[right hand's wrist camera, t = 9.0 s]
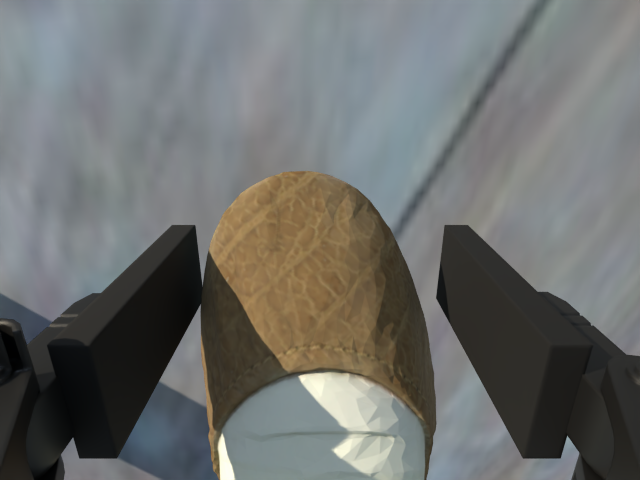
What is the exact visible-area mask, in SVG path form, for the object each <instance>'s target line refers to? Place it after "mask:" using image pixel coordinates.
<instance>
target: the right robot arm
mask: <svg viewBox="0 0 640 480" xmlns="http://www.w3.org/2000/svg"><path fill="white" fill-rule="evenodd" d="M202 288H203V287H202V279H201V270H200V262H199V253H198V245H197V236H196V227H195V225H172V226H171V227H170V228H169V229H168V230H167V231H166V232H165V233H163V234H162V235H161V236H160V237H159V238H158V239H157V240H156V241H155V242H154V243H153V244H152V245H151V246H150V247H149V248H148V249H147V250H146V251H145V252H144V253H143V254H142V255H140V256H139V257H138V258H137V259H136V260H135V261H134V262H133V263H132V264H131V265H130V266H129V267H128V268H127V269H126V270H125V271H124V272H123V273H122V274H121V275H120V276H119V277H117V278H116V279H115V280H114V281H113V282H112V283H111V284H110V285H109V286H108V287H107V288H106V289H105V290H104V291H103V292H102V293H92V294H91V295H89V296H87V297H85V298H83V299H81V300H79V301H77V302H75V303H74V304H72V305H71V306H70V307H69V308H68V309H67V310H66V311H65V312H63V313H62V314H61V317H58V318H57V319H56V320H54V321H53V322H52V323H51V324H50V327H47V328H46V329H44V330H43V331H42V332H41V333H40V334H39V335H38V336H37V337H35V338H34V339H33V340H32V341H31V342H30V343H29V344H28V345H27V344H26V341H25V338H24V334H23V331H22V328H21V325H20V323H18V322H17V321H15V320H13V319H3V318H0V480H64V474H65V470H64V463H63V460H62V457H61V453H62V452H63V451H64V449H65V448H66V446H67V445H68V443H69V442H70V441H71V439H72V438H74V441H75V445H76V448H77V452H78V455H79V458H117V457H118V455H119V454H120V452H121V450H122V448H123V446H124V444H125V443H126V441H127V439H128V437H129V435H130V433H131V431H132V430H133V428H134V426H135V424H136V422H137V420H138V419H139V417H140V415H141V413H142V411H143V409H144V408H145V406H146V404H147V402H148V400H149V398H150V396H151V395H152V393H153V391H154V389H155V387H156V385H157V384H158V382H159V380H160V378H161V376H162V374H163V372H164V371H165V369H166V367H167V365H168V363H169V361H170V360H171V358H172V356H173V354H174V352H175V350H176V348H177V347H178V345H179V343H180V341H181V339H182V337H183V336H184V334H185V332H186V330H187V328H188V326H189V324H190V323H191V321H192V319H193V317H194V315H195V313H196V312H197V310H198V308H199V306H200V304H201V295H202ZM436 299H437V301H438V302H439V304H440V306H441V308H442V310H443V312H444V313H445V315H446V317H447V319H448V321H449V323H450V325H451V326H452V328H453V330H454V332H455V334H456V336H457V337H458V339H459V341H460V343H461V345H462V347H463V348H464V350H465V352H466V354H467V356H468V358H469V360H470V361H471V363H472V365H473V367H474V369H475V371H476V372H477V374H478V376H479V378H480V380H481V382H482V384H483V385H484V387H485V389H486V391H487V393H488V395H489V396H490V398H491V400H492V402H493V404H494V406H495V408H496V409H497V411H498V413H499V415H500V417H501V419H502V420H503V422H504V424H505V426H506V428H507V430H508V432H509V433H510V435H511V437H512V439H513V441H514V443H515V444H516V446H517V448H518V450H519V452H520V454H521V455H522V457H523V458H561V455H562V452H563V448H564V445H565V441H566V438H567V436H568V437H569V438H570V440H571V441H572V443H573V444H574V445H575V447H576V448H577V450H578V451H579V453H580V454H579V457H578V460H577V463H576V467H575V470H574V473H573V476H572V479H571V480H640V356H633V355H626V354H625V353H624V352H623V351H622V350H620V349H619V348H618V347H617V346H616V345H615V344H614V343H613V342H611V341H610V340H609V339H608V338H607V337H606V336H605V335H603V334H602V333H601V332H600V331H599V330H598V329H597V328H596V327H594V326H591V323H590V322H589V321H588V320H587V319H585V318H584V317H583V316H580V313H579V312H577V311H576V310H575V309H574V308H573V307H572V306H571V305H570V304H568V303H567V302H566V301H564V300H562V299H560V298H558V297H556V296H554V295H552V294H551V293H549V292H537V291H536V290H535V289H534V288H533V287H532V286H531V285H530V284H529V283H528V282H527V281H526V280H525V279H524V278H522V277H521V276H520V275H519V274H518V273H517V272H516V271H515V270H514V269H513V268H512V267H511V266H510V265H509V264H508V263H507V262H506V261H505V260H504V259H503V258H502V257H501V256H499V255H498V254H497V253H496V252H495V251H494V250H493V249H492V248H491V247H490V246H489V245H488V244H487V243H486V242H485V241H484V240H483V239H482V238H481V237H480V236H479V235H478V234H476V233H475V232H474V231H473V230H472V229H471V228H470V227H469V226H468V225H445V227H444V236H443V244H442V253H441V262H440V270H439V279H438V287H437V296H436Z"/></svg>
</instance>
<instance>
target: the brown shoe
mask: <svg viewBox="0 0 640 480" xmlns="http://www.w3.org/2000/svg"><path fill="white" fill-rule="evenodd" d="M201 354H202V365H203V369H204V380H205V388H206V394H207V416H208V423H209V428H210V431H209V435H208V437H209V442H210V447H211V459H212V463H213V470H214V472H215V473H216V474H217V476H218V478H219V480H426V478H427V474H428V469H429V459H430V455H431V451H432V446H433V435H434V432H435V430H436V397H435V389H434V371H433V366H432V361H431V354H430V348H429V338H428V332H427V327H426V322H425V318H424V314H423V311H422V308H421V304H420V301H419V298H418V295H417V292H416V289H415V286H414V282H413V279H412V277H411V274H410V271H409V269H408V266H407V264H406V261H405V259H404V257H403V255H402V253H401V251H400V249H399V246H398V244H397V242H396V240H395V238H394V236H393V234H392V232H391V230H390V228H389V227H388V226H387V224H386V223H385V222H384V220H383V219H382V217H381V215H380V214H379V212H378V211H377V210H376V208H375V207H374V206H373V204H372V203H371V202H370V200H368V199H367V198H366V197H365V196H364V195H363V194H362V193H361V192H360V191H359V190H358V189H356V188H354V187H353V186H351V185H349V184H348V183H346V182H344V181H342V180H339V179H337V178H335V177H333V176H330V175H326V174H322V173H318V172H311V171H296V172H283V173H281V174H278V175H275V176H271V177H268V178H266V179H264V180H262V181H260V182H258V183H256V184H255V185H253V186H251V187H249V188H248V189H247V190H245V191H244V192H242V193H241V194H240V195H239V196H238V197H237V199H236V200H235V201H234V202H233V203H232V205H231V206H230V207H229V208H228V209H227V210H226V211H225V213H224V214H223V216H222V218H221V220H220V222H219V224H218V226H217V228H216V231H215V233H214V235H213V238H212V240H211V244H210V248H209V251H208V255H207V261H206V267H205V273H204V281H203V288H202V295H201Z"/></svg>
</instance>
